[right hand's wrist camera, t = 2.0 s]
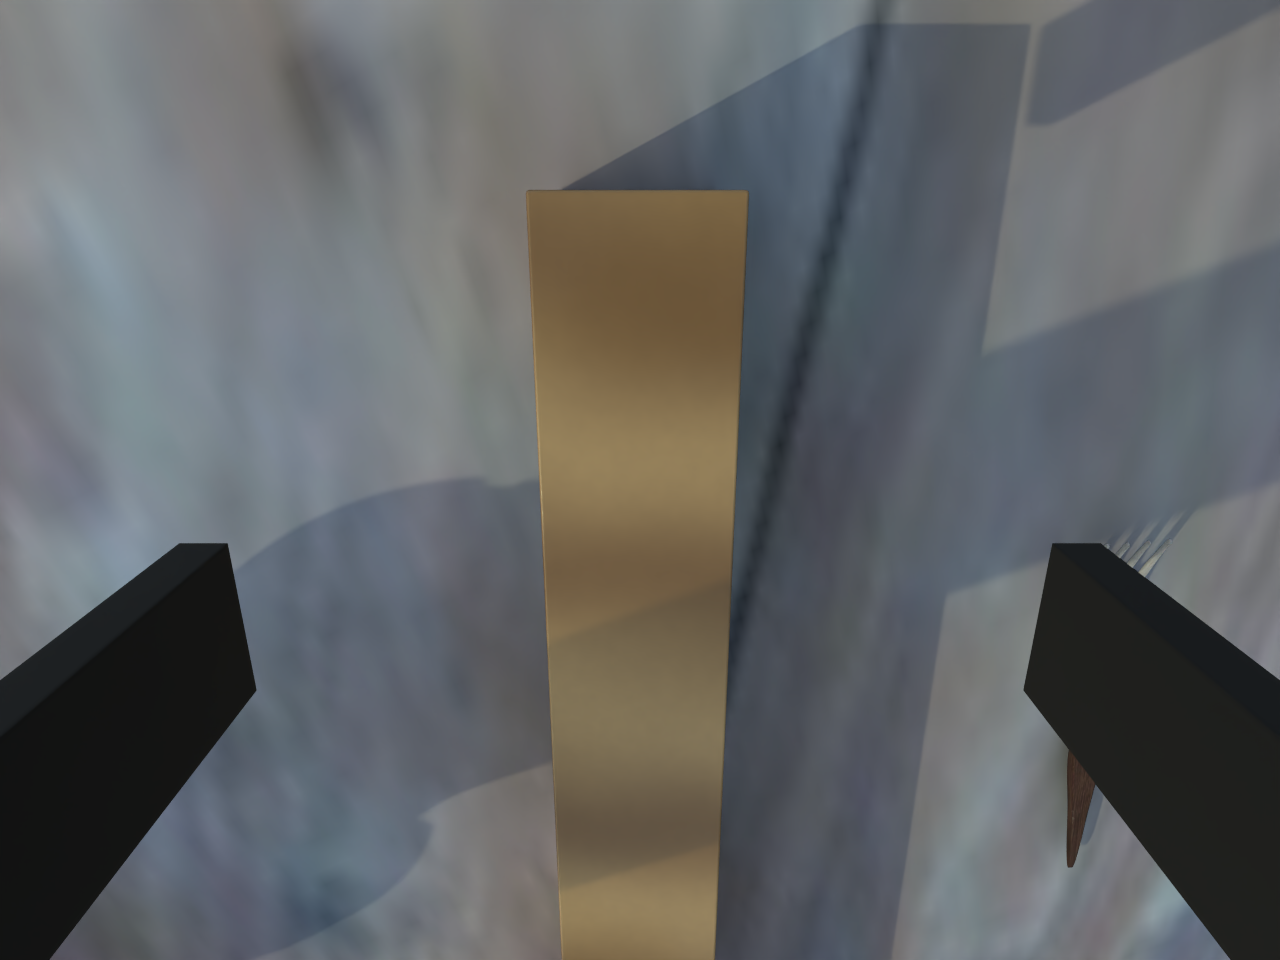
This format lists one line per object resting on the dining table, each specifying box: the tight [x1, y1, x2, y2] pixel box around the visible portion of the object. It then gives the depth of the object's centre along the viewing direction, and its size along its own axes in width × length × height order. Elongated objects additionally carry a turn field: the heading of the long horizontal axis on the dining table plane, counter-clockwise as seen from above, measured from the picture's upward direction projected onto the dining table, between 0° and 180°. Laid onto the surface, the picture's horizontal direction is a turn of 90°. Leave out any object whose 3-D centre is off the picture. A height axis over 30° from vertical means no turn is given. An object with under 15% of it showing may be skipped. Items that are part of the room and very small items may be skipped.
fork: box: [1067, 539, 1173, 868], centre depth 30 cm, size 3×16×2 cm, turn 5°
